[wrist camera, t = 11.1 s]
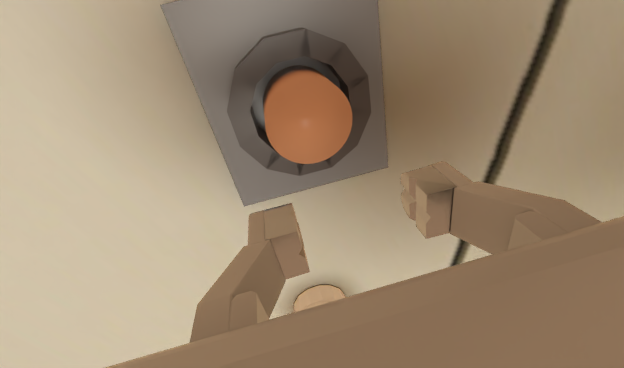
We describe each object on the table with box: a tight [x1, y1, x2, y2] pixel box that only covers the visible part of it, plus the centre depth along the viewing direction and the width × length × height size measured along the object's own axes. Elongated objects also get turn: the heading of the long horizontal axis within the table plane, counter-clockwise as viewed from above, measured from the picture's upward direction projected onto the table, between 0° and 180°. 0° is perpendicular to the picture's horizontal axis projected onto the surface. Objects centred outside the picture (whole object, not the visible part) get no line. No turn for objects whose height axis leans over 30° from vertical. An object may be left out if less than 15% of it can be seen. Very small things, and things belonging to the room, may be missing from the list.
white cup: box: [294, 285, 345, 312], centre depth 32 cm, size 8×8×10 cm
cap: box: [263, 65, 352, 164], centre depth 20 cm, size 6×6×5 cm
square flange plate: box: [160, 0, 388, 206], centre depth 21 cm, size 14×16×4 cm
